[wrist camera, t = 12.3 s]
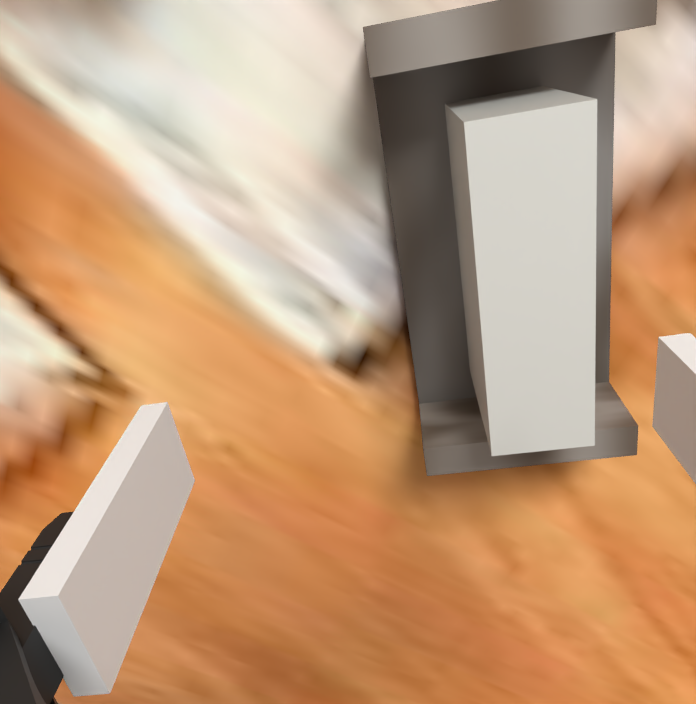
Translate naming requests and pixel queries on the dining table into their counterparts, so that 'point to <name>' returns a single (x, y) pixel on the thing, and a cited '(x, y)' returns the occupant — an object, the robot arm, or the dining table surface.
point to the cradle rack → (438, 203)
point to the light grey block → (528, 262)
